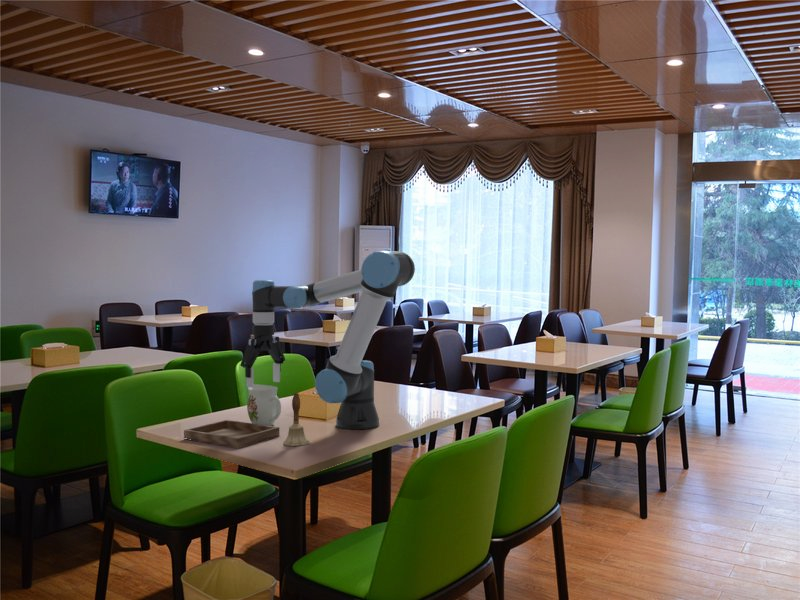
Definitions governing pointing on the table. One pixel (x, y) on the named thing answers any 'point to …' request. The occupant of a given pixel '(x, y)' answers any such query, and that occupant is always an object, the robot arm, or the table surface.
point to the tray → (232, 433)
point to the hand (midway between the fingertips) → (263, 384)
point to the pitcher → (263, 404)
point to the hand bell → (296, 427)
